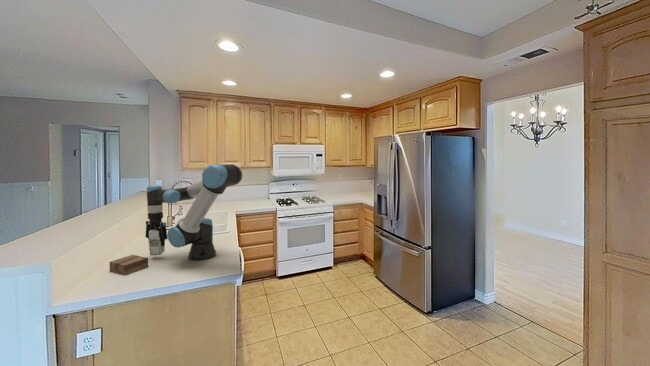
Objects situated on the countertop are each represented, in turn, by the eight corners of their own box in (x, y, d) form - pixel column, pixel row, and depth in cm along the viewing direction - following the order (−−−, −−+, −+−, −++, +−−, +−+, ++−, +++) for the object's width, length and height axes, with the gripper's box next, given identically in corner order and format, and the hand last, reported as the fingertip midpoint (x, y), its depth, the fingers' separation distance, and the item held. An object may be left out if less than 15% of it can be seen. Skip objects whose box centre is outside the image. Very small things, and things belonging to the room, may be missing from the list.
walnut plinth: (148, 266, 150) (147, 257, 149) (125, 275, 139) (124, 265, 138) (133, 263, 154) (132, 254, 154) (109, 271, 143) (109, 261, 143)
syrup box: (164, 251, 166) (163, 228, 165) (160, 255, 160) (159, 230, 159) (154, 252, 165) (152, 228, 164) (149, 255, 159) (148, 230, 158)
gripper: (173, 212, 160) (175, 250, 162) (149, 209, 168) (150, 246, 170) (162, 214, 153) (163, 254, 155) (136, 211, 161) (138, 250, 163)
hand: (156, 250), depth 162 cm, fingers closed on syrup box, 8 cm apart
